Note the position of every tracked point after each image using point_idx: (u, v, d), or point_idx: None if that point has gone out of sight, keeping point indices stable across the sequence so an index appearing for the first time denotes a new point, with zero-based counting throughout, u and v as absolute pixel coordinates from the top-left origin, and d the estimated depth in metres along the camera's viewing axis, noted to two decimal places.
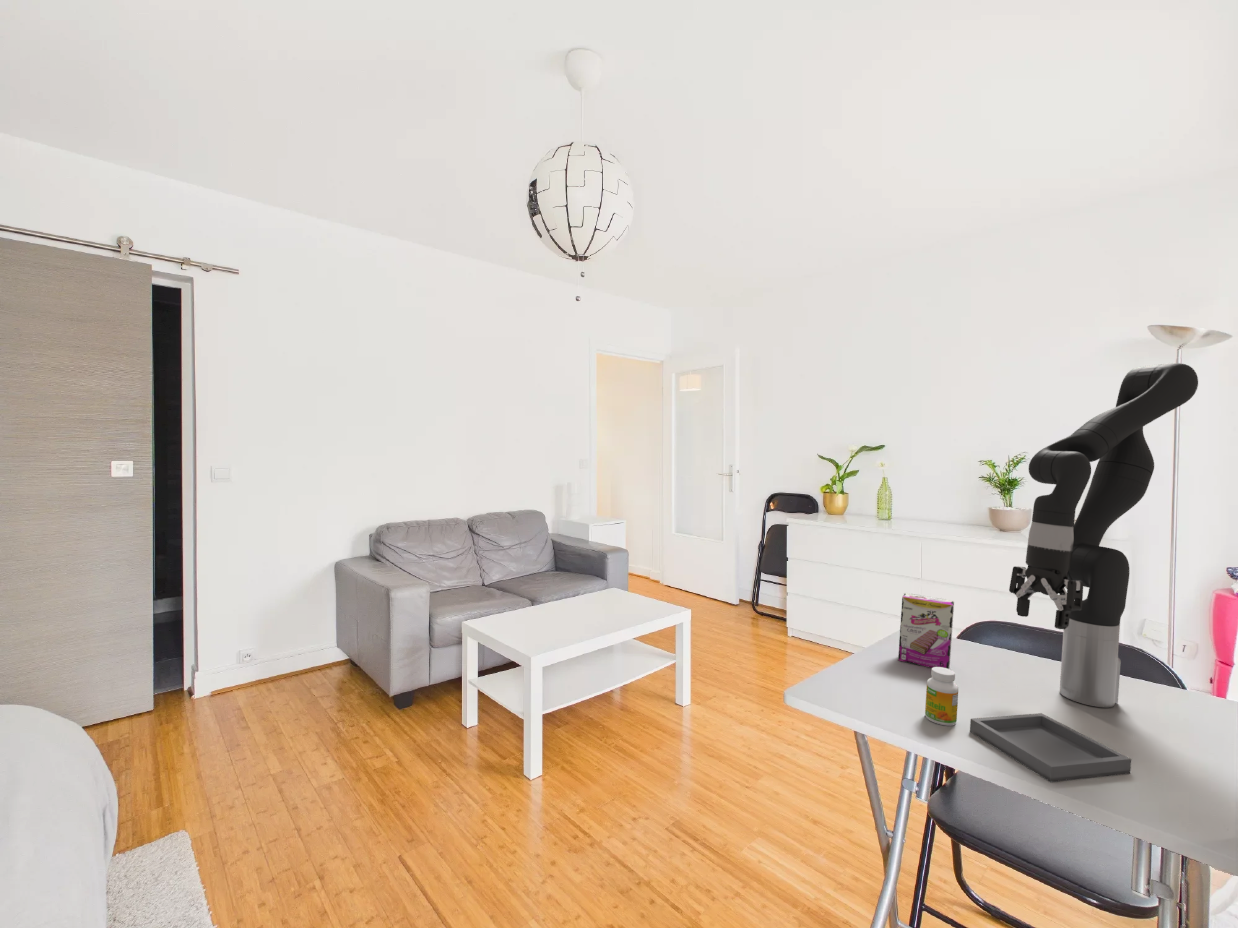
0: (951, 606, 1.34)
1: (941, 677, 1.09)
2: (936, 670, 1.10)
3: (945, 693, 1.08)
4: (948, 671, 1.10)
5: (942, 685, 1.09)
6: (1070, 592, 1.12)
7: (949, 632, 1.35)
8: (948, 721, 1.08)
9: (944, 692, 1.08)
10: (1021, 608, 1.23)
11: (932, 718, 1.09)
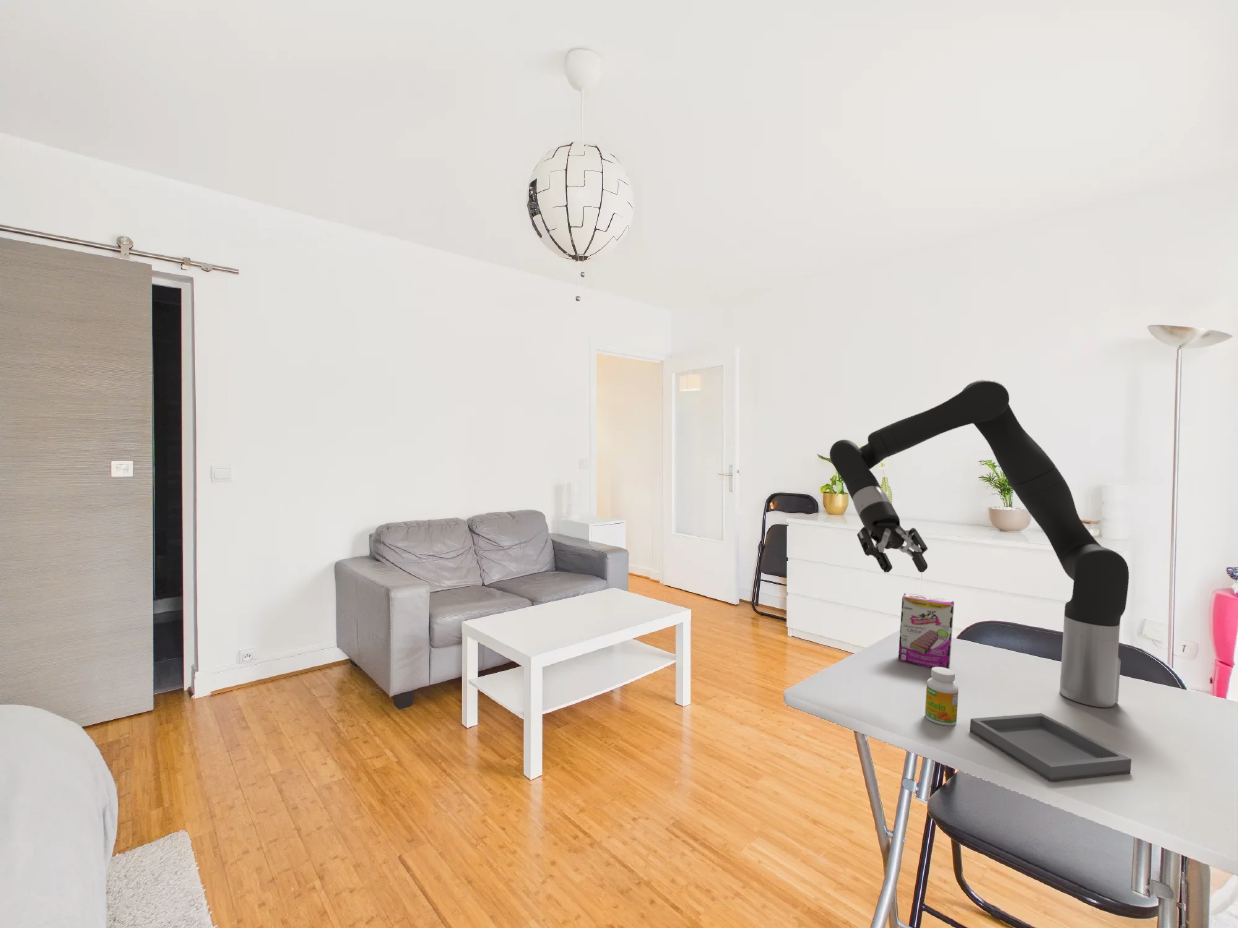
0: (951, 606, 1.34)
1: (941, 677, 1.09)
2: (936, 670, 1.10)
3: (945, 693, 1.08)
4: (948, 671, 1.10)
5: (942, 685, 1.09)
6: None
7: (949, 632, 1.35)
8: (948, 721, 1.08)
9: (944, 692, 1.08)
10: (916, 565, 1.23)
11: (932, 718, 1.09)
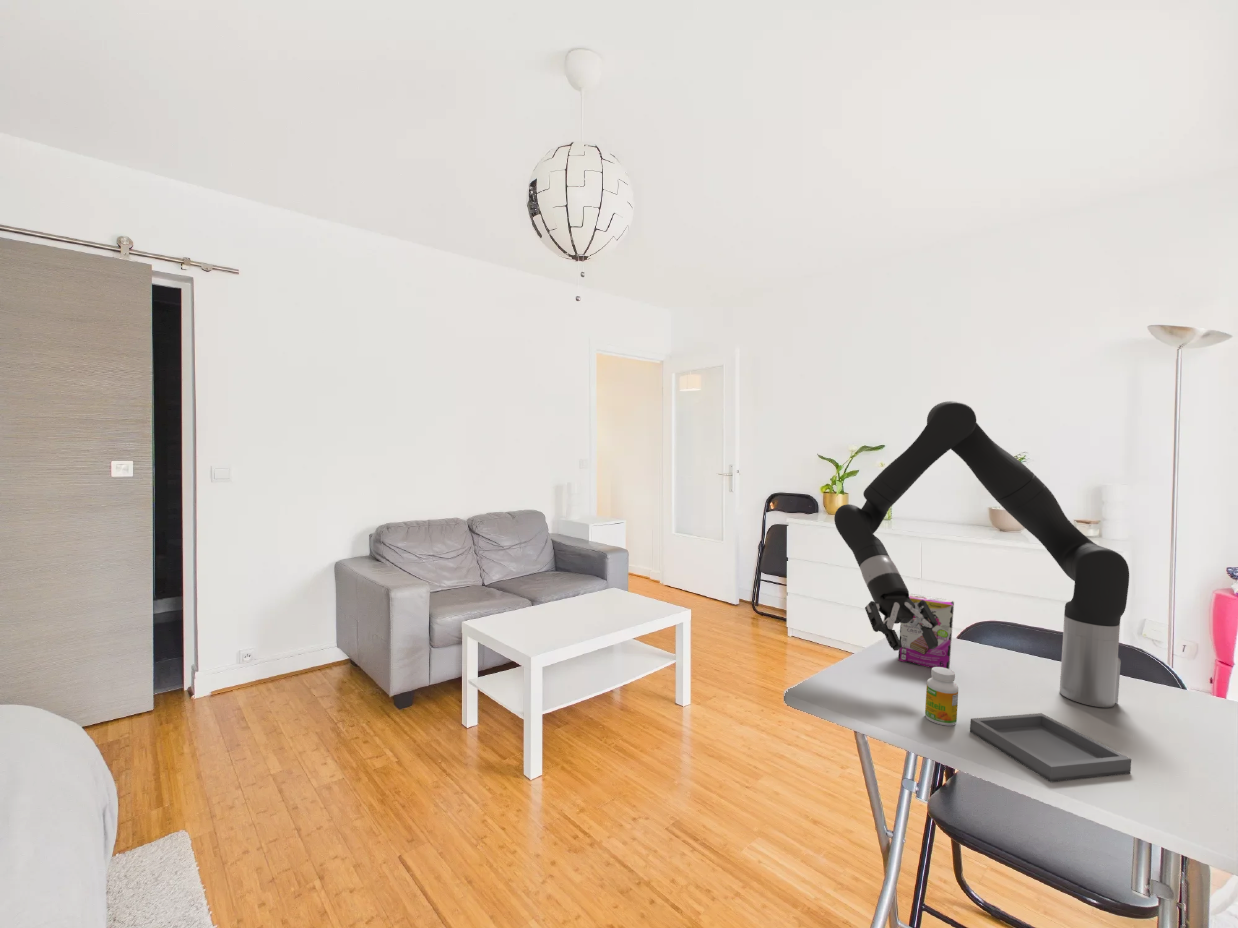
0: (951, 606, 1.34)
1: (941, 677, 1.09)
2: (936, 670, 1.10)
3: (945, 693, 1.08)
4: (948, 671, 1.10)
5: (942, 685, 1.09)
6: None
7: (949, 632, 1.35)
8: (948, 721, 1.08)
9: (944, 692, 1.08)
10: (926, 641, 1.20)
11: (931, 718, 1.09)
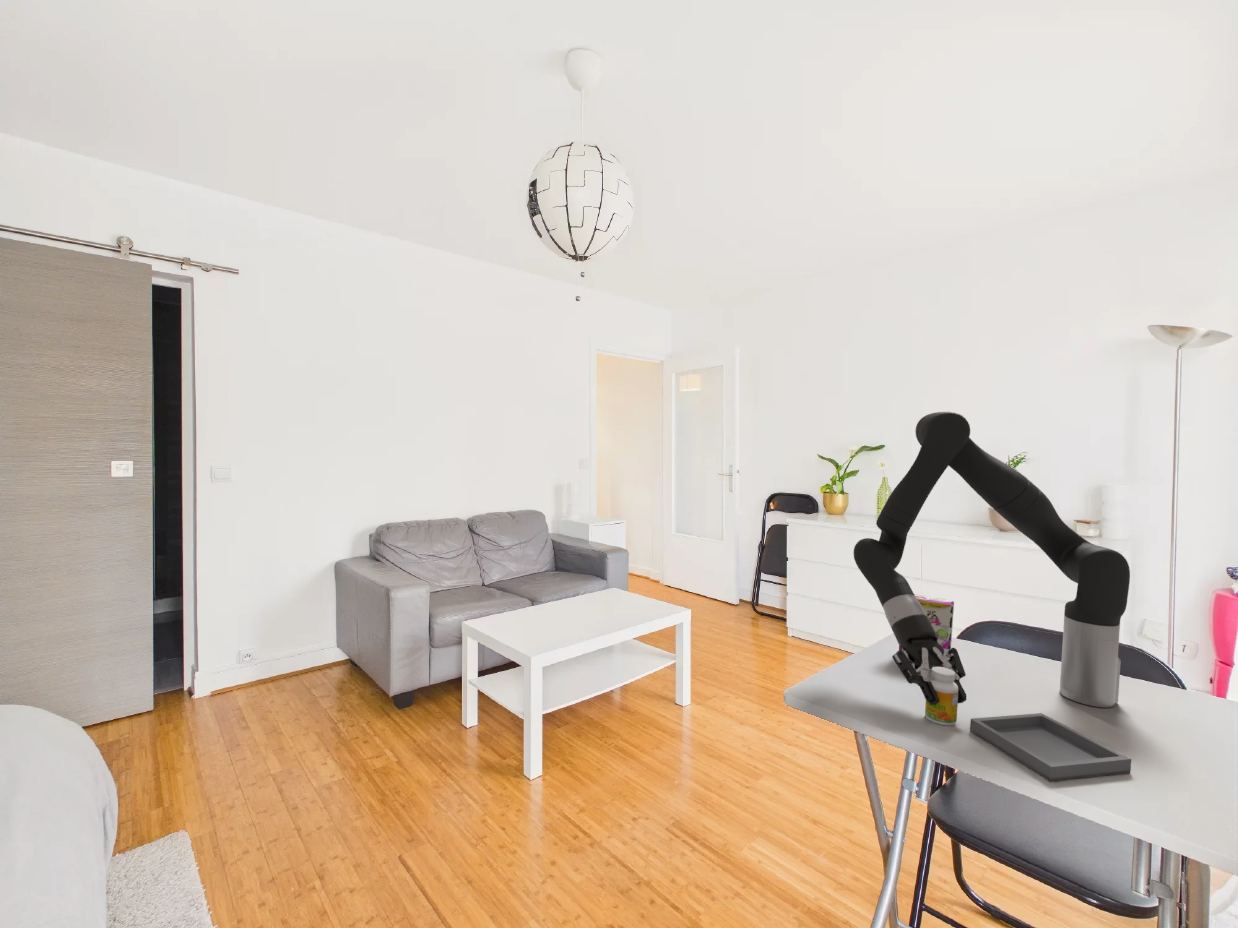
0: (951, 606, 1.34)
1: (941, 677, 1.09)
2: (936, 670, 1.10)
3: (945, 693, 1.08)
4: (948, 671, 1.10)
5: (942, 685, 1.09)
6: None
7: (949, 632, 1.35)
8: (948, 721, 1.08)
9: (944, 692, 1.08)
10: None
11: (931, 718, 1.09)
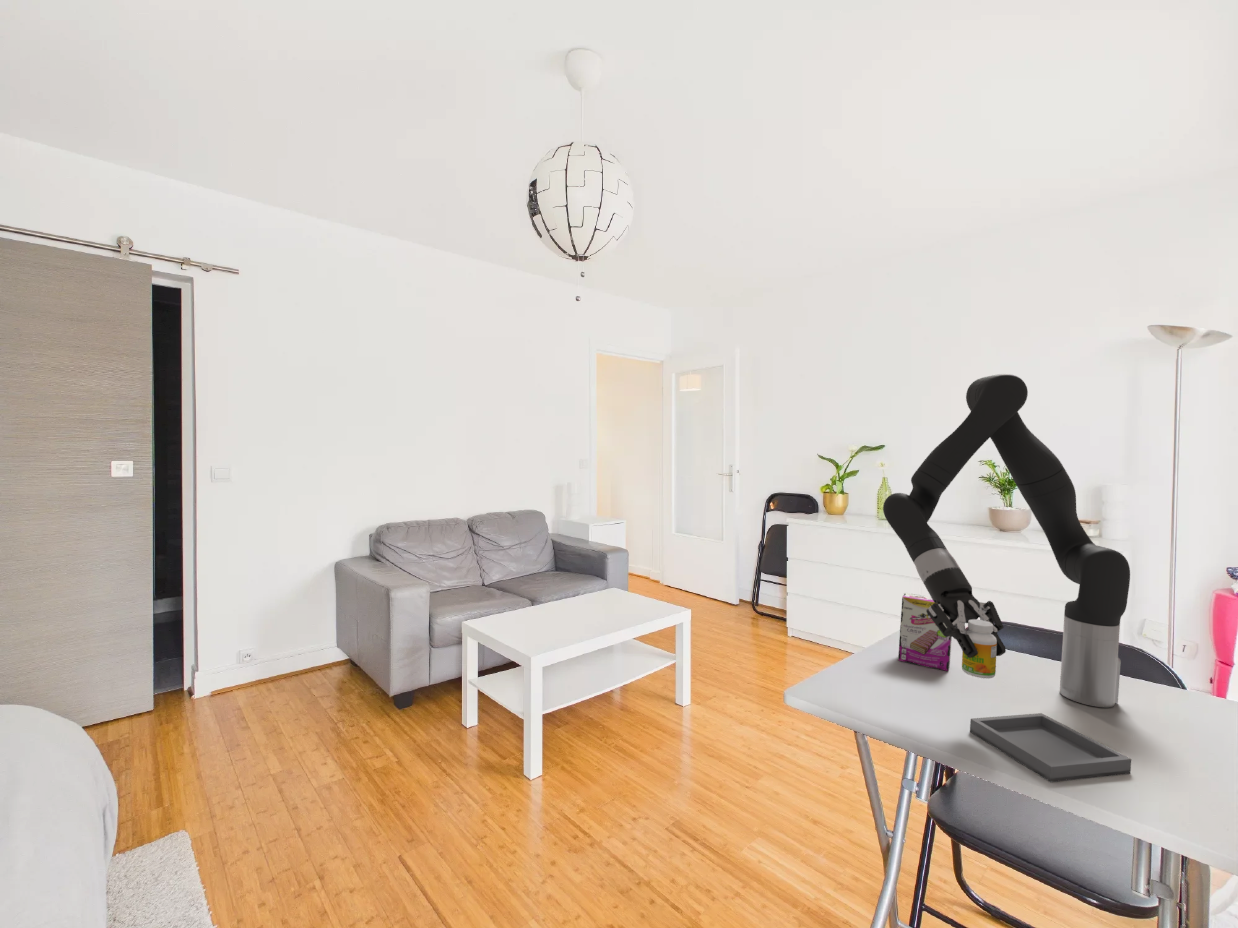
0: None
1: (979, 629, 1.05)
2: (973, 622, 1.07)
3: (983, 645, 1.04)
4: (985, 623, 1.06)
5: (980, 637, 1.05)
6: None
7: None
8: (987, 674, 1.04)
9: (982, 644, 1.04)
10: None
11: (969, 671, 1.06)
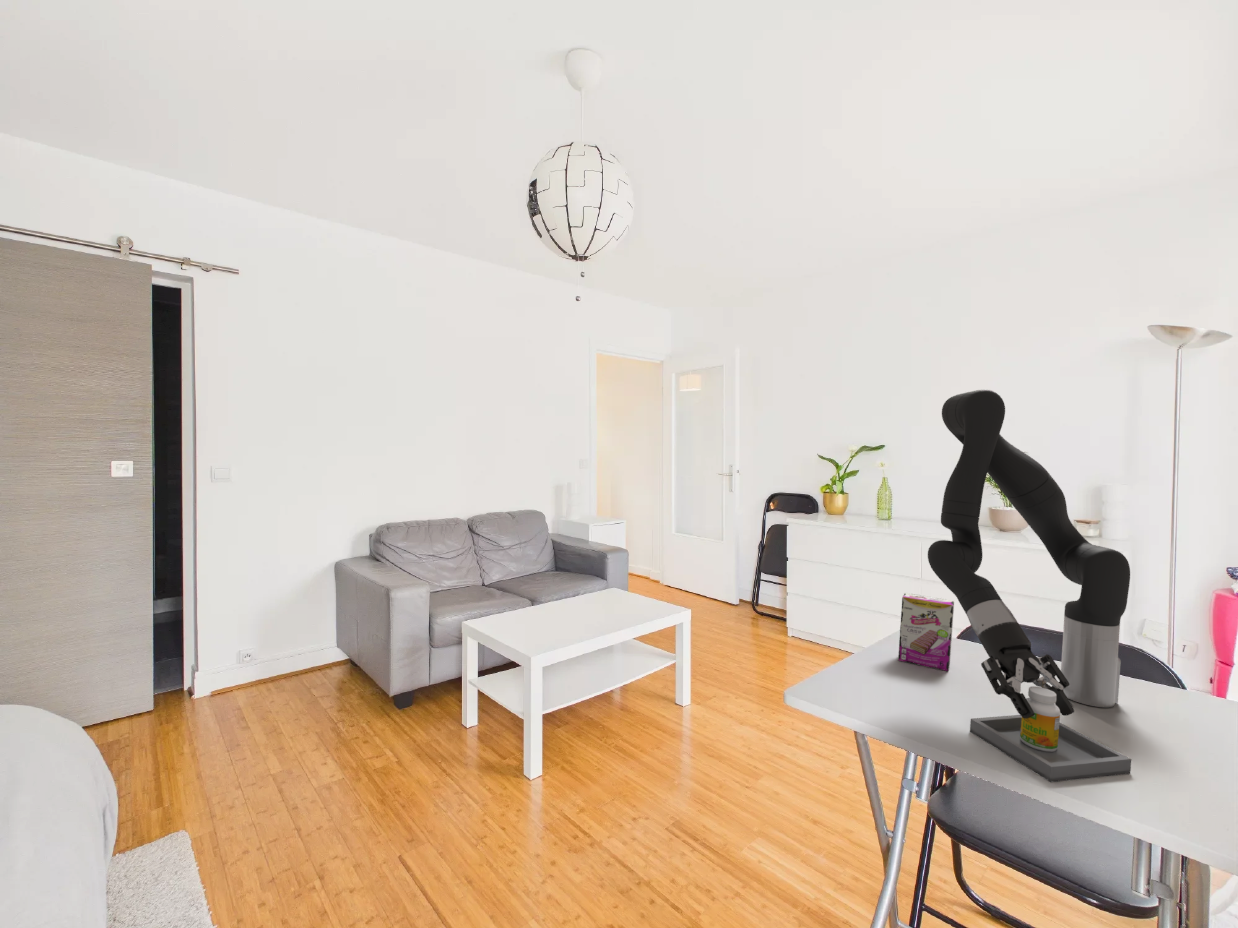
0: (951, 606, 1.34)
1: (1042, 699, 0.99)
2: (1035, 690, 1.01)
3: (1047, 716, 0.98)
4: (1048, 692, 1.00)
5: (1043, 707, 0.99)
6: None
7: (949, 632, 1.35)
8: (1050, 747, 0.98)
9: (1045, 715, 0.98)
10: (1058, 706, 1.02)
11: (1030, 743, 1.00)
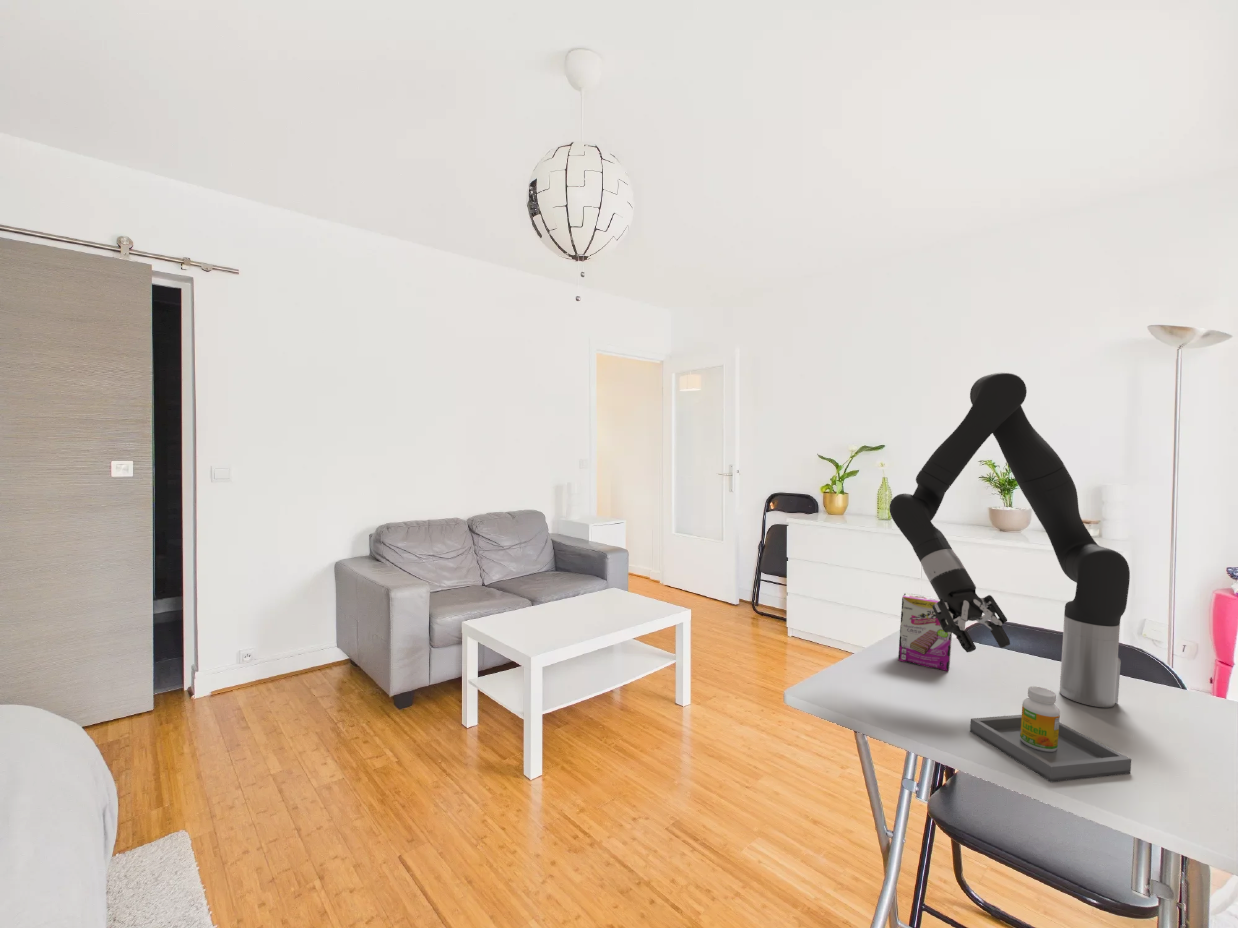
0: None
1: (1042, 699, 0.99)
2: (1034, 690, 1.01)
3: (1046, 716, 0.98)
4: (1048, 692, 1.00)
5: (1043, 707, 0.99)
6: None
7: (949, 632, 1.35)
8: (1050, 747, 0.98)
9: (1045, 715, 0.98)
10: (996, 639, 1.16)
11: (1030, 743, 1.00)
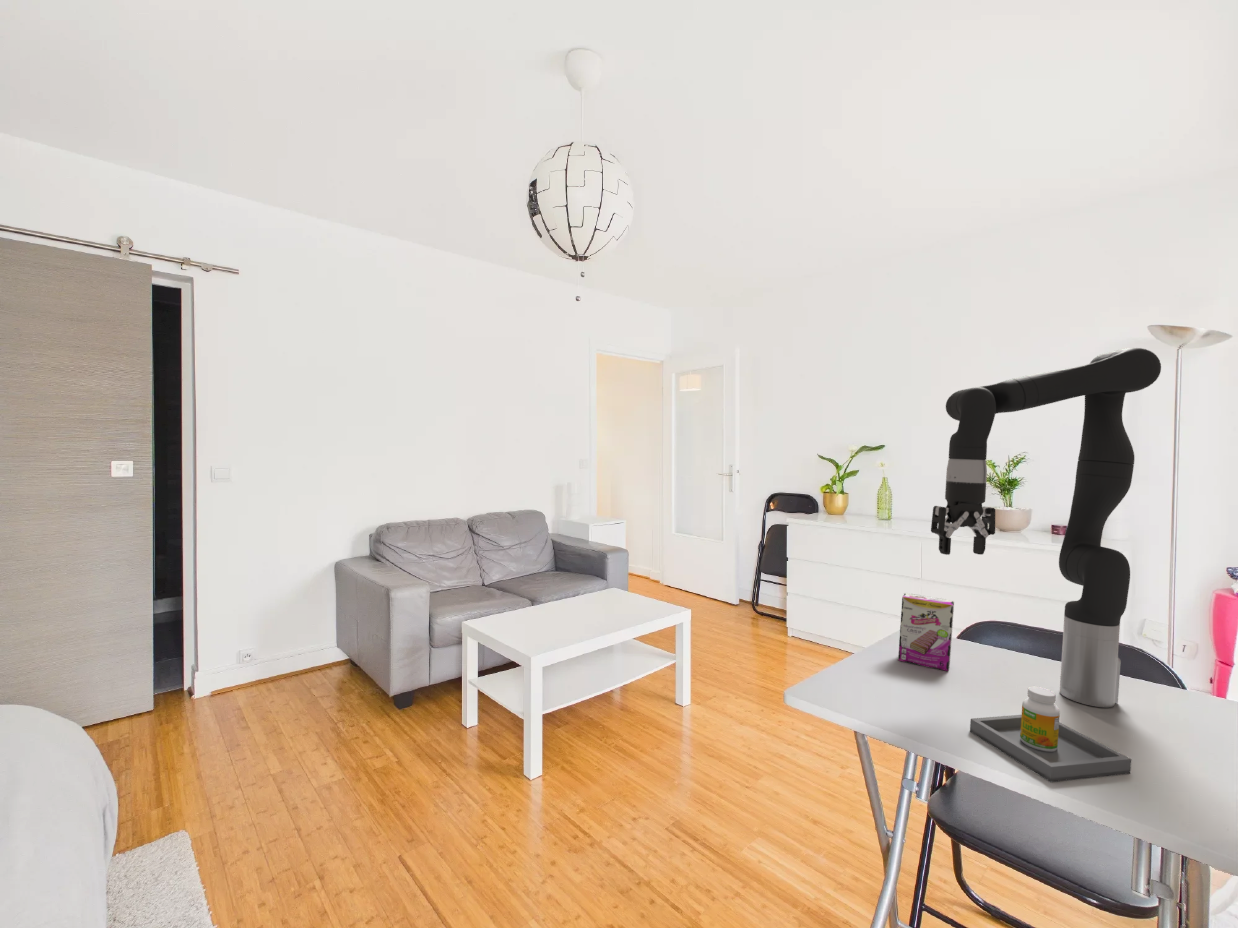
0: (951, 606, 1.34)
1: (1041, 699, 0.99)
2: (1034, 690, 1.01)
3: (1046, 716, 0.98)
4: (1047, 692, 1.00)
5: (1043, 707, 0.99)
6: None
7: (949, 632, 1.35)
8: (1050, 747, 0.98)
9: (1045, 715, 0.98)
10: (974, 545, 1.26)
11: (1030, 743, 1.00)
